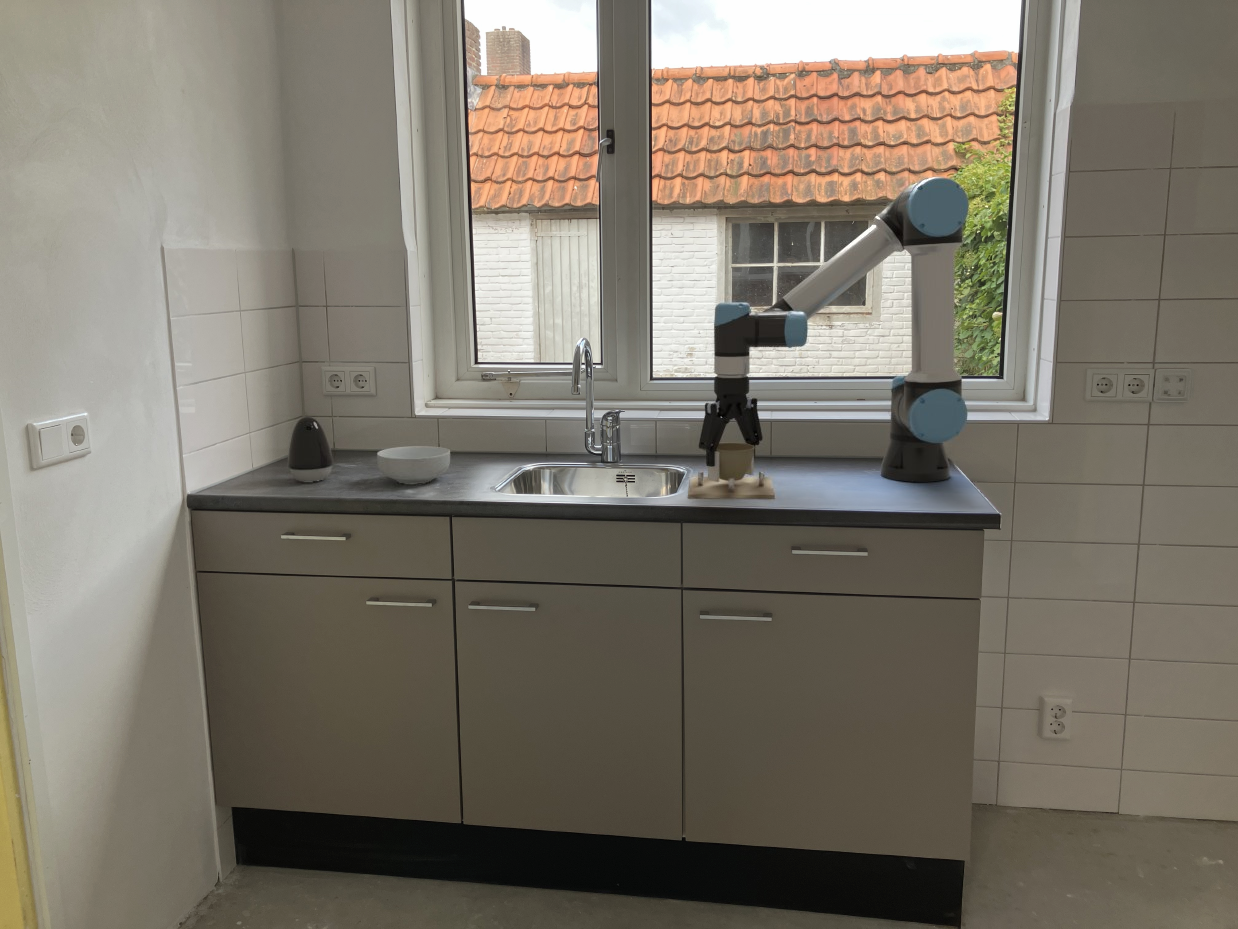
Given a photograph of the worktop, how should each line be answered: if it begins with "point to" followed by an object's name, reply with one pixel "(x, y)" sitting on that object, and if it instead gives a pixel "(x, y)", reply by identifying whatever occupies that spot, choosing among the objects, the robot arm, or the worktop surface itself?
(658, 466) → the worktop surface
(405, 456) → the cereal bowl
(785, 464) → the worktop surface
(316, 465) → the black egg-shaped dome
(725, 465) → the flower pot
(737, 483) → the wooden peg board
